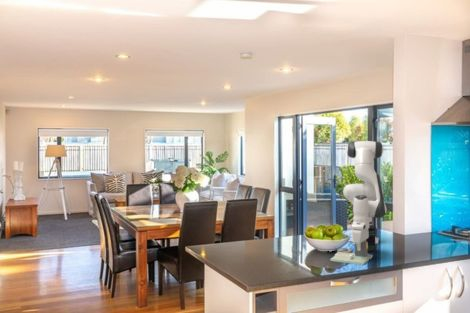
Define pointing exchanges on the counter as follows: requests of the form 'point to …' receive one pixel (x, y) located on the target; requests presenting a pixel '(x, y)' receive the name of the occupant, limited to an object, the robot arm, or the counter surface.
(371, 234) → the storage jar
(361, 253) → the plug
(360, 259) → the board
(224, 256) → the counter surface
